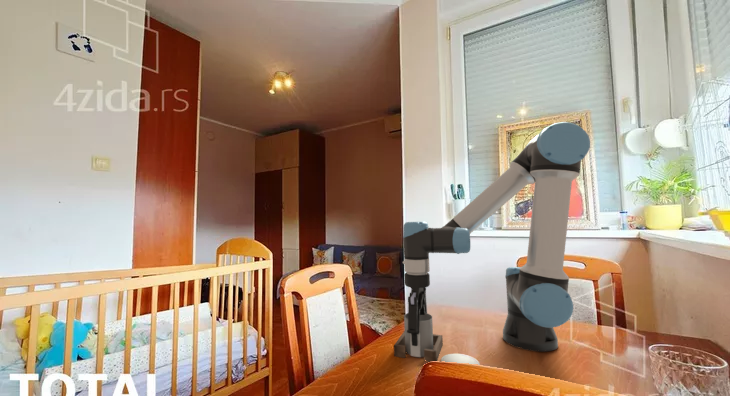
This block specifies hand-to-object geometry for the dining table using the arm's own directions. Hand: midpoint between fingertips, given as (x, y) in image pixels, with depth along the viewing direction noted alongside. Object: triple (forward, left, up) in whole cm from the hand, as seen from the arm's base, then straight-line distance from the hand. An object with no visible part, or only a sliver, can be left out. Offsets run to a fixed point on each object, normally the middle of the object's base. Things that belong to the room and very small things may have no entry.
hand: (419, 349), depth 89 cm
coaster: (-12, +4, 0) cm, 13 cm away
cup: (0, 0, -1) cm, 1 cm away
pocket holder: (0, 0, 0) cm, 0 cm away
